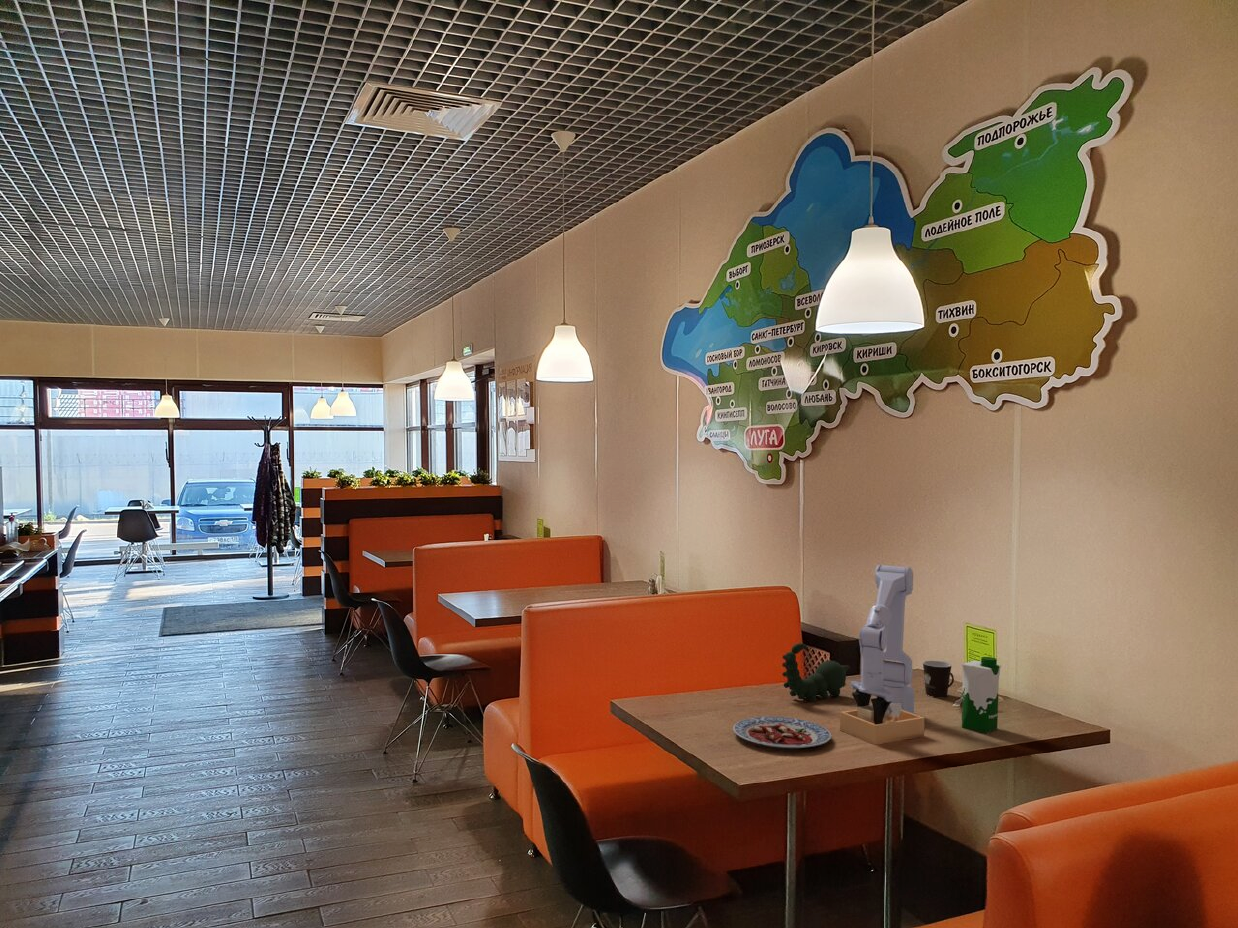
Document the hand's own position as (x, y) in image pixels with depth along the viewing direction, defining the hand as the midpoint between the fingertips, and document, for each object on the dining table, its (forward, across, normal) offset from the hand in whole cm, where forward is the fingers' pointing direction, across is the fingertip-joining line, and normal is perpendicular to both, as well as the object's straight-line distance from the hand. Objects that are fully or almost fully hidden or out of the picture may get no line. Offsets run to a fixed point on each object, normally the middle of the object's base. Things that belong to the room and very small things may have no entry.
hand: (870, 721), depth 246 cm
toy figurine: (+4, -35, +11) cm, 37 cm away
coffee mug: (+4, -21, +48) cm, 53 cm away
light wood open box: (+4, 0, +4) cm, 5 cm away
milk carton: (+4, +8, +33) cm, 34 cm away
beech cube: (+2, 0, 0) cm, 2 cm away
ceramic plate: (+4, -8, -24) cm, 26 cm away
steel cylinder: (+3, 0, +8) cm, 8 cm away
